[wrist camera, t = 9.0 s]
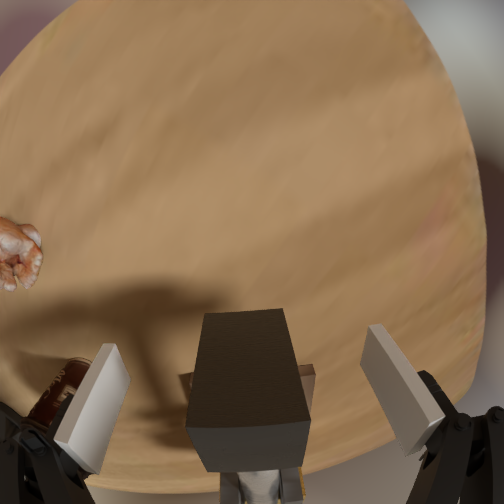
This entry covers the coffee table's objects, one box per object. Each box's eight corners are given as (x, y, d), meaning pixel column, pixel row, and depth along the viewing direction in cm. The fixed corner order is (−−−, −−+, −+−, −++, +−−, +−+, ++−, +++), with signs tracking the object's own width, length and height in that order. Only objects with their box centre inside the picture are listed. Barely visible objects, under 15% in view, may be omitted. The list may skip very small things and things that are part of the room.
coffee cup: (135, 385, 26) (103, 483, 13) (108, 409, 27) (80, 488, 15) (71, 337, 23) (14, 426, 11) (54, 369, 25) (10, 442, 13)
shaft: (241, 476, 21) (243, 530, 15) (204, 313, 14) (185, 427, 7) (279, 474, 22) (286, 527, 15) (282, 308, 14) (310, 420, 7)
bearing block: (221, 463, 33) (220, 533, 20) (191, 372, 25) (172, 489, 13) (299, 457, 33) (311, 526, 21) (312, 364, 25) (346, 478, 13)
